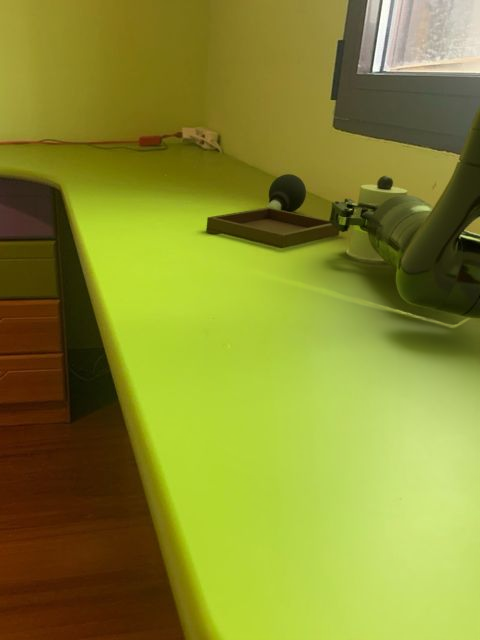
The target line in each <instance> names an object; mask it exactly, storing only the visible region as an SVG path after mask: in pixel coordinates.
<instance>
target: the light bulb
mask: <svg viewBox="0 0 480 640" xmlns="http://www.w3.org/2000/svg"><path fill="white" fill-rule="evenodd" d="M306 196H307V189H306V185H305V183H304V181H303V180H302V179H301V178H300V177H299V176H297V175H295V174H291V173H287V174H282V175H279V176H277V177H276V178H275V179H274V180H273V182H271V185H270V186H269V189H268V204H267V205H266V206H265V208H268V207H269V208H273V209H278V210H283V211H287V212H292V213H294V212H295V211H297V210H298V209H300V208H301V207H302V205H303V204H304V202H305V201H306Z"/></svg>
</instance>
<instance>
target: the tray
mask: <svg viewBox="0 0 480 640" xmlns="http://www.w3.org/2000/svg"><path fill="white" fill-rule="evenodd" d="M205 232H206V233H208V234H212V235H221V234H223V235H225V236H226V235H227V236H230V237H234V238H238V239H243V240H247V241H250V242H254V243H258V244H262V245H266V246H269V247H274V248H278V249H285V248H289V247H294V246H297V245H301V244H306V243H310V242H315V241H320V240H323V239H327V238H332V237H336V236H339V235H340V231H339V230H337V229H336V228H335V227H334V226H333V225H332V224H331V223H330V222H329V219H326V218H325V219H324V218H320V217H315V216H311V215H306V214H301V213H298V212H287V211H283V210H278V209H273V208H269V207H268V208H266V207H262V208H261V207H260V208H256V209H248V210H243V211H237V212H231V213H225V214H219V215H214V216H207V219H206V229H205Z"/></svg>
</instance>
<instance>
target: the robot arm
mask: <svg viewBox="0 0 480 640" xmlns="http://www.w3.org/2000/svg"><path fill="white" fill-rule="evenodd" d="M368 209H372V210H371V211H368ZM356 210H357V213H356V212H355V211H356ZM354 212H355V213H354ZM355 215H356V216H355ZM479 218H480V105H479V106H478V107H477V110H476V112H475V115H474V117H473V119H472V122H471V125H470V129H469V130H468V133H467V136H466V139H465V141H464V144H463V147H462V149H461V151H460V154H459V157H458V161H457V163H456V165H455V168H454V170H453V172H452V174H451V177H450V179H449V181H448V182H447V184H446V186H445V188H444V189H443V191H442V193H441V194H440V195H439V198H438V199H437V201H436V202H435V204H434V205H433V206H432V205H431V204H429V203H428V202H426V201H424V200H423V199H421V198H420V197H418V196H414V195H411V194H407V195H400V196H396V197H393V198H390V199H388V200H387V201H385V202H384V203H382V204H379V205H378V204H374V203H370V202H360V203H359V204H358V203H356V202H355V201H354V200H353V199H351V198H344V201H338V200H335V201H332V202H331V210H330V216H329V219H328V220H329V222H330V223H331V224H332V225H333V226H334V227H335V228H336V229H337V230H339V232H341V233H345V232H348V231H349V230H350V228H351V226H352V227H353V226H354V229H355V230H357V231H361V232H365V233H368V237H369V241H370V243H371V245H372V247H373V248H374V250H375V251H376V252H377V253H378V254H379V255H380V256H381V257H382V259H383V260H384V261H383V262H385V263H386V264H387V265H388V266H389V267H390V268H392V269H393V270H395V271H396V272H395V285H396V289H397V293H398V294H399V296H400V298H401V299H402V300H403V301H405V303H407V304H409V305H412V306H415V307H419V308H423V309H429V310H433V311H438V312H441V313H442V312H443V313H447V314H451V315H456V316H460V317H464V318H470V319H476V320H477V319H478V320H480V234H479V233H477V232H473V231H471V230H467V228H468V227H469V226H470V225H471V224H472V223H474V221H476V220H477V219H479Z"/></svg>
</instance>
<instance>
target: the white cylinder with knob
mask: <svg viewBox="0 0 480 640" xmlns="http://www.w3.org/2000/svg"><path fill="white" fill-rule="evenodd" d="M376 182H377V183H376V184H363V185H361V186H360V189H359V194H358V198H357V204H359V203H360V202H370V203H374V204H378V205H379V204H382V203H384V202H385V201H387V200H388V199H390V198H393V197H396V196H400V195H408V190H407V189H405V188H402V187H397V186H394V180H393V178H392V177H391V176H389V175H383V176H381V177H379V179H378V180H377V181H376ZM371 210H372V209H368V211H371ZM356 213H357V210H356V209H355V214H354V216H356ZM345 254H347V255H348V256H350V257H352V258H355V259H358V260H364V261H370V262H385V261H384V260H383V259H382V257H381V256H380V255H379V254H378V253H377V252H376V251H375V250H374V248H373V247H372V245H371V243H370V241H369V237H368V233H365V232H361V231H357V230H355V229H354V226H353V225H352V232H351V237H350V242H349V248H348V249H347V250H346V251H345Z"/></svg>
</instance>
